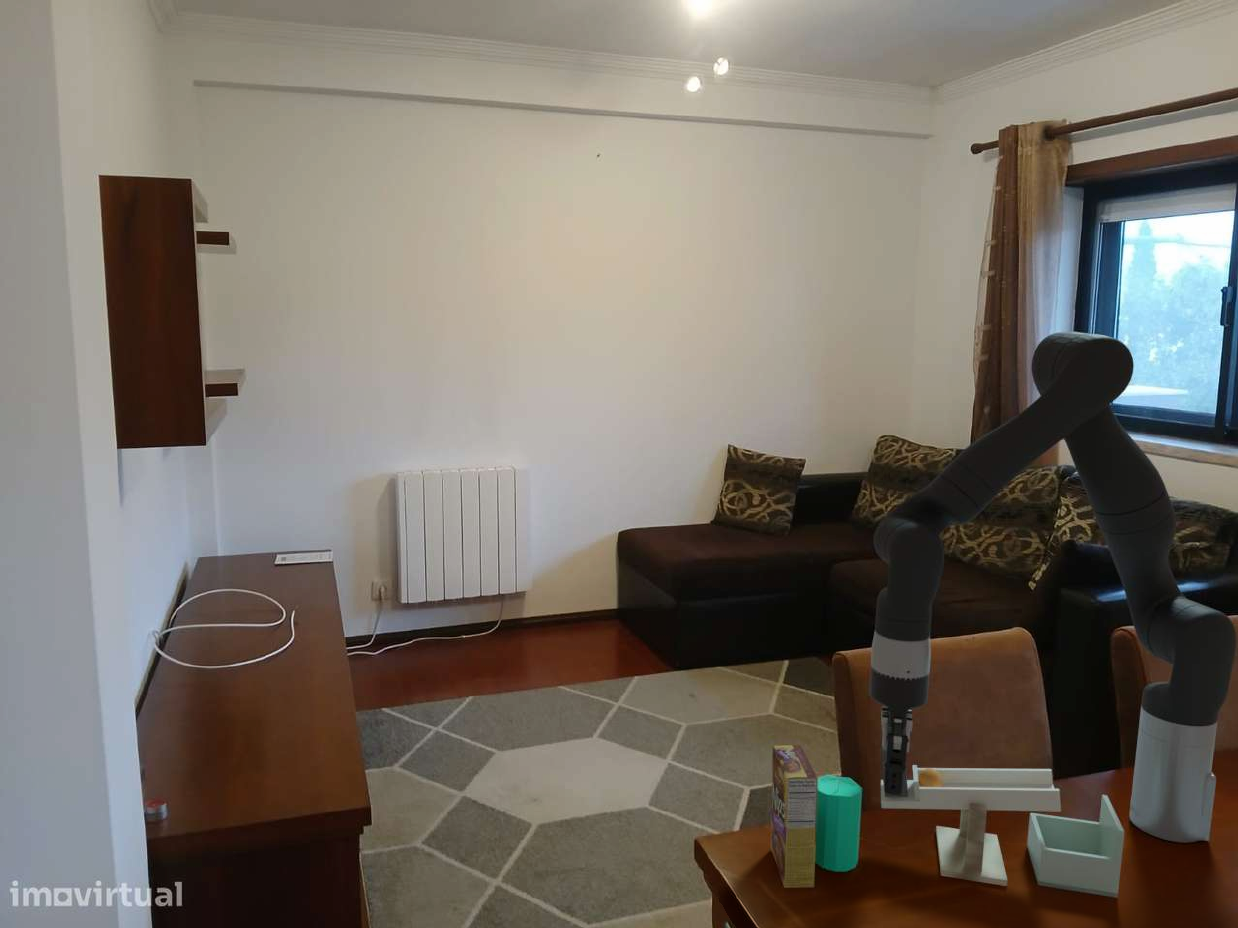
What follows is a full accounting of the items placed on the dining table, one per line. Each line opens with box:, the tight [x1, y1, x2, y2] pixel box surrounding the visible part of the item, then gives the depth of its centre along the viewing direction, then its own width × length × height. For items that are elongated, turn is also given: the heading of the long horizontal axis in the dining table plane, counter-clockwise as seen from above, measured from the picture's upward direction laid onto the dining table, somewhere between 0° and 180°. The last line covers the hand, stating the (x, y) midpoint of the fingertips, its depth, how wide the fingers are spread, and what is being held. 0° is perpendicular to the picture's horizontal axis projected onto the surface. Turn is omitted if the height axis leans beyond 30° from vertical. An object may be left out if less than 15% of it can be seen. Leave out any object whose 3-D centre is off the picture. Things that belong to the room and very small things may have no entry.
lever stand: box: [935, 803, 1008, 887], centre depth 124 cm, size 8×11×10 cm
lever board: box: [880, 742, 1062, 813], centre depth 123 cm, size 22×7×8 cm, turn 74°
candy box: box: [770, 744, 819, 889], centre depth 120 cm, size 9×4×15 cm, turn 2°
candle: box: [815, 774, 863, 873], centre depth 123 cm, size 6×6×12 cm
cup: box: [1026, 794, 1125, 899], centre depth 121 cm, size 9×9×9 cm
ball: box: [918, 769, 942, 787], centre depth 124 cm, size 3×3×3 cm
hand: (892, 784), depth 126 cm, fingers closed on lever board, 3 cm apart
